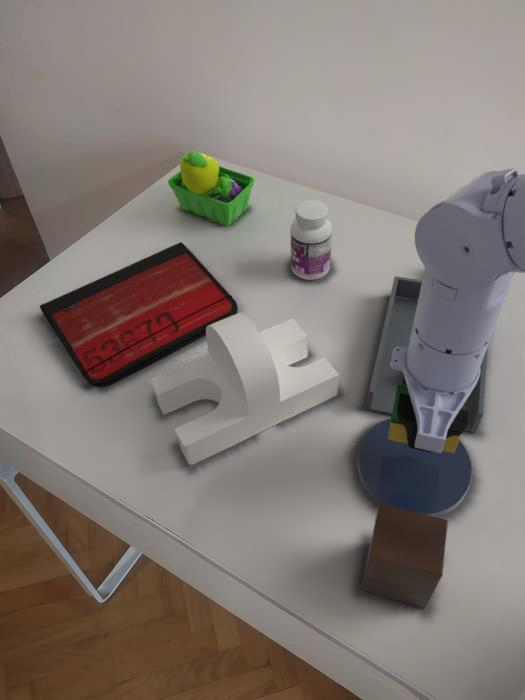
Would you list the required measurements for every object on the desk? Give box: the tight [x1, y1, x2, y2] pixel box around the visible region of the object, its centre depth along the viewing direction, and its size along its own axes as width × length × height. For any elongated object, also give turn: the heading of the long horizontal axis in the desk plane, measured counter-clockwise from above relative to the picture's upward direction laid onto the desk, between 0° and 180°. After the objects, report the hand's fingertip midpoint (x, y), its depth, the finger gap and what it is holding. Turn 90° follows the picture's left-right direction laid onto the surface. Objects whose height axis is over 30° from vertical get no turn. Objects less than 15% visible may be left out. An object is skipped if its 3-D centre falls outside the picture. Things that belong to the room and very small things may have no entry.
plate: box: [357, 417, 473, 518], centre depth 57 cm, size 11×11×1 cm
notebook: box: [39, 241, 239, 388], centre depth 73 cm, size 16×2×21 cm
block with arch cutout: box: [150, 312, 340, 466], centre depth 60 cm, size 18×10×11 cm, turn 118°
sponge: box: [388, 384, 464, 453], centre depth 53 cm, size 4×6×4 cm, turn 73°
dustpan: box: [365, 275, 489, 434], centre depth 68 cm, size 25×12×3 cm, turn 163°
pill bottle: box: [290, 199, 333, 281], centre depth 75 cm, size 5×5×10 cm
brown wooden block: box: [361, 503, 449, 609], centre depth 48 cm, size 4×6×8 cm
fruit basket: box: [167, 150, 255, 227], centre depth 84 cm, size 11×9×11 cm
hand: (423, 426), depth 54 cm, fingers closed on sponge, 4 cm apart
